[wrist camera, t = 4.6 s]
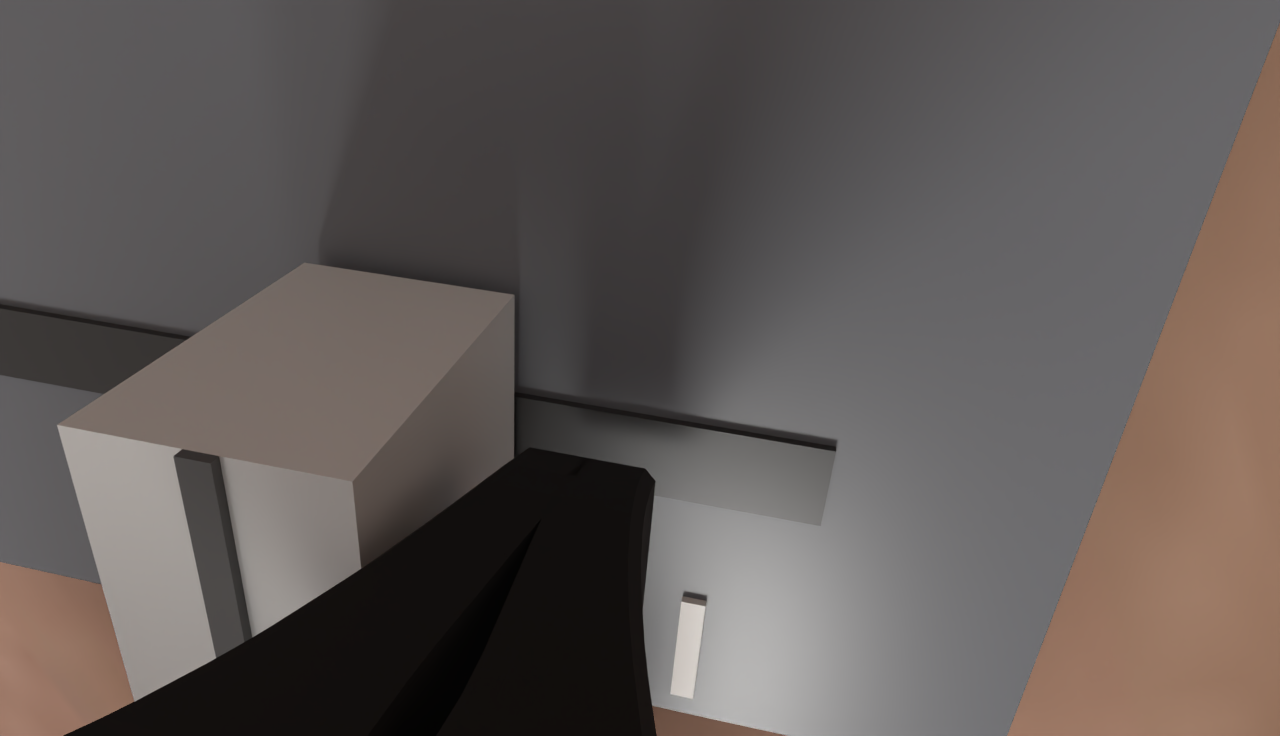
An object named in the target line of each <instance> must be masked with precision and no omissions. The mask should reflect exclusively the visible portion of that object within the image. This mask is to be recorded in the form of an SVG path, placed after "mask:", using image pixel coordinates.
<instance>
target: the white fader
mask: <svg viewBox="0 0 1280 736" xmlns="http://www.w3.org/2000/svg"><path fill="white" fill-rule="evenodd" d="M514 314H515V295H513V294H506V293H500V292H493V291H487V290H480V289H474V288H467V287H461V286H454V285H448V284H441V283H434V282H428V281H421V280H415V279H408V278H402V277H395V276H389V275H382V274H376V273H369V272H363V271H356V270H350V269H343V268H337V267H330V266H323V265H317V264H310V263H303V264H302V265H300V266H299V267H297V268H296V269H294V270H293V271H291V272H289V273H288V274H286V275H285V276H283V277H282V278H280V279H279V280H277V281H276V282H274V283H273V284H271V285H270V286H268V287H267V288H265V289H264V290H262V291H260V292H259V293H257V294H256V295H254V296H253V297H251V298H250V299H248V300H247V301H245V302H244V303H242V304H241V305H239V306H238V307H236V308H235V309H233V310H232V311H230V312H228V313H227V314H225V315H224V316H222V317H221V318H219V319H218V320H216V321H215V322H213V323H212V324H210V325H209V326H207V327H206V328H204V329H203V330H201V331H199V332H198V333H196V334H195V335H193V336H192V337H190V338H189V339H187V340H186V341H184V342H183V343H181V344H180V345H178V346H177V347H175V348H174V349H172V350H171V351H169V352H167V353H166V354H164V355H163V356H161V357H160V358H158V359H157V360H155V361H154V362H152V363H151V364H149V365H148V366H146V367H145V368H143V369H142V370H140V371H138V372H137V373H135V374H134V375H132V376H131V377H129V378H128V379H126V380H125V381H123V382H122V383H120V384H119V385H117V386H116V387H114V388H113V389H111V390H109V391H108V392H106V393H105V394H103V395H102V396H100V397H99V398H97V399H96V400H94V401H93V402H91V403H90V404H88V405H87V406H85V407H84V408H82V409H81V410H79V411H77V412H76V413H74V414H73V415H71V416H70V417H68V418H67V419H65V420H64V421H62V422H61V423H59V424H58V425H57V427H58V431H59V434H60V438H61V441H62V445H63V448H64V452H65V456H66V459H67V463H68V466H69V470H70V473H71V477H72V481H73V484H74V488H75V491H76V495H77V498H78V502H79V505H80V509H81V513H82V516H83V520H84V523H85V527H86V530H87V534H88V538H89V541H90V545H91V548H92V552H93V555H94V559H95V563H96V566H97V570H98V573H99V577H100V580H101V584H102V588H103V591H104V595H105V598H106V602H107V605H108V609H109V612H110V616H111V620H112V623H113V627H114V630H115V634H116V637H117V641H118V645H119V648H120V652H121V655H122V659H123V662H124V666H125V670H126V673H127V677H128V680H129V684H130V687H131V691H132V694H133V698H134V702H135V701H137V700H139V699H140V698H142V697H144V696H146V695H148V694H150V693H152V692H154V691H156V690H157V689H159V688H161V687H163V686H165V685H167V684H169V683H171V682H173V681H174V680H176V679H178V678H180V677H182V676H184V675H186V674H188V673H190V672H191V671H193V670H195V669H197V668H199V667H201V666H203V665H205V664H207V663H208V662H210V661H212V660H214V659H215V658H217V657H219V656H221V655H223V654H224V653H226V652H228V651H230V650H231V649H233V648H235V647H237V646H238V645H240V644H242V643H244V642H245V641H247V640H249V639H251V638H252V637H254V636H256V635H257V634H259V633H261V632H262V631H264V630H266V629H267V628H269V627H271V626H272V625H274V624H275V623H277V622H279V621H280V620H282V619H283V618H285V617H286V616H288V615H290V614H291V613H293V612H294V611H296V610H297V609H299V608H301V607H302V606H304V605H305V604H307V603H308V602H310V601H312V600H313V599H315V598H316V597H318V596H319V595H321V594H323V593H324V592H326V591H327V590H329V589H330V588H332V587H334V586H335V585H337V584H338V583H340V582H341V581H343V580H345V579H346V578H348V577H349V576H351V575H352V574H354V573H355V572H357V571H358V570H360V569H361V568H363V567H364V566H366V565H367V564H369V563H370V562H371V561H373V560H374V559H376V558H377V557H378V556H380V555H381V554H383V553H384V552H386V551H387V550H388V549H390V548H391V547H393V546H394V545H396V544H397V543H398V542H400V541H401V540H403V539H404V538H405V537H407V536H408V535H410V534H411V533H413V532H414V531H415V530H417V529H418V528H420V527H421V526H423V525H424V524H425V523H427V522H428V521H430V520H431V519H432V518H434V517H435V516H436V515H438V514H439V513H440V512H442V511H443V510H444V509H446V508H447V507H449V506H450V505H451V504H453V503H454V502H455V501H457V500H458V499H459V498H461V497H462V496H463V495H465V494H466V493H467V492H469V491H470V490H471V489H473V488H474V487H475V486H477V485H478V484H479V483H481V482H482V481H483V480H485V479H486V478H487V477H489V476H490V475H492V474H493V473H494V472H496V471H497V470H498V469H500V468H501V467H502V466H504V465H505V464H506V463H508V462H509V461H511V460H512V459H513V458H514Z"/></svg>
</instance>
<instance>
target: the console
mask: <svg viewBox="0 0 1280 736" xmlns="http://www.w3.org/2000/svg"><path fill="white" fill-rule="evenodd" d="M1279 23H1280V0H0V562H3V563H8V564H12V565H17V566H21V567H26V568H31V569H35V570H40V571H44V572H49V573H53V574H58V575H62V576H67V577H71V578H76V579H80V580H85V581H89V582H94V583H98V584H101V580H100V577H99V573H98V570H97V566H96V563H95V559H94V555H93V552H92V548H91V545H90V541H89V538H88V534H87V530H86V527H85V523H84V520H83V516H82V513H81V509H80V505H79V502H78V498H77V495H76V491H75V488H74V484H73V481H72V477H71V473H70V470H69V466H68V463H67V459H66V456H65V452H64V448H63V445H62V441H61V438H60V434H59V431H58V427H57V425H58V424H59V423H61V422H62V421H64V420H65V419H67V418H68V417H70V416H71V415H73V414H74V413H76V412H77V411H79V410H81V409H82V408H84V407H85V406H87V405H88V404H90V403H91V402H93V401H94V400H96V399H97V398H99V397H100V396H102V395H103V394H105V393H106V392H108V391H109V390H111V389H113V388H114V387H116V386H117V385H119V384H120V383H122V382H123V381H125V380H126V379H128V378H129V377H131V376H132V375H134V374H135V373H137V372H138V371H140V370H142V369H143V368H145V367H146V366H148V365H149V364H151V363H152V362H154V361H155V360H157V359H158V358H160V357H161V356H163V355H164V354H166V353H167V352H169V351H171V350H172V349H174V348H175V347H177V346H178V345H180V344H181V343H183V342H184V341H186V340H187V339H189V338H190V337H192V336H193V335H195V334H196V333H198V332H199V331H201V330H203V329H204V328H206V327H207V326H209V325H210V324H212V323H213V322H215V321H216V320H218V319H219V318H221V317H222V316H224V315H225V314H227V313H228V312H230V311H232V310H233V309H235V308H236V307H238V306H239V305H241V304H242V303H244V302H245V301H247V300H248V299H250V298H251V297H253V296H254V295H256V294H257V293H259V292H260V291H262V290H264V289H265V288H267V287H268V286H270V285H271V284H273V283H274V282H276V281H277V280H279V279H280V278H282V277H283V276H285V275H286V274H288V273H289V272H291V271H293V270H294V269H296V268H297V267H299V266H300V265H302V264H303V263H310V264H317V265H323V266H330V267H337V268H343V269H350V270H356V271H363V272H369V273H376V274H382V275H389V276H395V277H402V278H408V279H415V280H421V281H428V282H434V283H441V284H448V285H454V286H461V287H467V288H474V289H480V290H487V291H493V292H500V293H506V294H513V295H515V314H514V458H515V457H516V456H518V455H519V454H521V453H522V452H523V451H525V450H526V449H528V448H529V447H531V448H537V449H542V450H548V451H553V452H558V453H564V454H569V455H575V456H580V457H586V458H591V459H597V460H602V461H607V462H613V463H618V464H624V465H629V466H635V467H640V468H645V469H646V470H647V471H648V472H649V474H650V475H651V476H652V477H653V478H654V480H655V481H656V483H655V493H654V503H653V513H652V523H651V533H650V543H649V553H648V563H647V573H646V583H645V593H644V603H643V625H644V642H645V652H646V661H647V671H648V679H649V686H650V694H651V701H652V706H656V707H660V708H665V709H669V710H674V711H678V712H683V713H687V714H692V715H696V716H701V717H705V718H710V719H714V720H719V721H723V722H728V723H733V724H737V725H742V726H746V727H751V728H755V729H760V730H764V731H769V732H773V733H778V734H782V735H787V736H1007V734H1008V732H1009V729H1010V726H1011V724H1012V721H1013V719H1014V716H1015V713H1016V711H1017V708H1018V705H1019V703H1020V700H1021V698H1022V695H1023V692H1024V690H1025V687H1026V685H1027V682H1028V679H1029V677H1030V674H1031V672H1032V669H1033V666H1034V664H1035V661H1036V658H1037V656H1038V653H1039V651H1040V648H1041V645H1042V643H1043V640H1044V638H1045V635H1046V632H1047V630H1048V627H1049V624H1050V622H1051V619H1052V617H1053V614H1054V611H1055V609H1056V606H1057V604H1058V601H1059V598H1060V596H1061V593H1062V590H1063V588H1064V585H1065V583H1066V580H1067V577H1068V575H1069V572H1070V570H1071V567H1072V564H1073V562H1074V559H1075V556H1076V554H1077V551H1078V549H1079V546H1080V543H1081V541H1082V538H1083V536H1084V533H1085V530H1086V528H1087V525H1088V522H1089V520H1090V517H1091V515H1092V512H1093V509H1094V507H1095V504H1096V502H1097V499H1098V496H1099V494H1100V491H1101V488H1102V486H1103V483H1104V481H1105V478H1106V475H1107V473H1108V470H1109V468H1110V465H1111V462H1112V460H1113V457H1114V454H1115V452H1116V449H1117V447H1118V444H1119V441H1120V439H1121V436H1122V434H1123V431H1124V428H1125V426H1126V423H1127V420H1128V418H1129V415H1130V413H1131V410H1132V407H1133V405H1134V402H1135V400H1136V397H1137V394H1138V392H1139V389H1140V387H1141V384H1142V381H1143V379H1144V376H1145V373H1146V371H1147V368H1148V366H1149V363H1150V360H1151V358H1152V355H1153V353H1154V350H1155V347H1156V345H1157V342H1158V339H1159V337H1160V334H1161V332H1162V329H1163V326H1164V324H1165V321H1166V319H1167V316H1168V313H1169V311H1170V308H1171V305H1172V303H1173V300H1174V298H1175V295H1176V292H1177V290H1178V287H1179V285H1180V282H1181V279H1182V277H1183V274H1184V271H1185V269H1186V266H1187V264H1188V261H1189V258H1190V256H1191V253H1192V251H1193V248H1194V245H1195V243H1196V240H1197V237H1198V235H1199V232H1200V230H1201V227H1202V224H1203V222H1204V219H1205V217H1206V214H1207V211H1208V209H1209V206H1210V203H1211V201H1212V198H1213V196H1214V193H1215V190H1216V188H1217V185H1218V183H1219V180H1220V177H1221V175H1222V172H1223V169H1224V167H1225V164H1226V162H1227V159H1228V156H1229V154H1230V151H1231V149H1232V146H1233V143H1234V141H1235V138H1236V135H1237V133H1238V130H1239V128H1240V125H1241V122H1242V120H1243V117H1244V115H1245V112H1246V109H1247V107H1248V104H1249V102H1250V99H1251V96H1252V94H1253V91H1254V88H1255V86H1256V83H1257V81H1258V78H1259V75H1260V73H1261V70H1262V68H1263V65H1264V62H1265V60H1266V57H1267V54H1268V52H1269V49H1270V47H1271V44H1272V41H1273V39H1274V36H1275V34H1276V31H1277V28H1278V26H1279Z"/></svg>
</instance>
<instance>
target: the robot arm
mask: <svg viewBox="0 0 1280 736" xmlns="http://www.w3.org/2000/svg"><path fill="white" fill-rule="evenodd" d="M655 483H656V481H655V480H654V478H653V477H652V476H651V475H650V474H649V472H648V471H647V470H646V469H645V468H640V467H635V466H629V465H624V464H618V463H613V462H607V461H602V460H597V459H591V458H586V457H580V456H575V455H569V454H564V453H558V452H553V451H548V450H542V449H537V448H531V447H529V448H528V449H526V450H525V451H523V452H522V453H521V454H519V455H518V456H516V457H515V458H513V459H512V460H511V461H509V462H508V463H506V464H505V465H504V466H502V467H501V468H500V469H498V470H497V471H496V472H494V473H493V474H492V475H490V476H489V477H487V478H486V479H485V480H483V481H482V482H481V483H479V484H478V485H477V486H475V487H474V488H473V489H471V490H470V491H469V492H467V493H466V494H465V495H463V496H462V497H461V498H459V499H458V500H457V501H455V502H454V503H453V504H451V505H450V506H449V507H447V508H446V509H444V510H443V511H442V512H440V513H439V514H438V515H436V516H435V517H434V518H432V519H431V520H430V521H428V522H427V523H425V524H424V525H423V526H421V527H420V528H418V529H417V530H415V531H414V532H413V533H411V534H410V535H408V536H407V537H405V538H404V539H403V540H401V541H400V542H398V543H397V544H396V545H394V546H393V547H391V548H390V549H388V550H387V551H386V552H384V553H383V554H381V555H380V556H378V557H377V558H376V559H374V560H373V561H371V562H370V563H369V564H367V565H366V566H364V567H363V568H361V569H360V570H358V571H357V572H355V573H354V574H352V575H351V576H349V577H348V578H346V579H345V580H343V581H341V582H340V583H338V584H337V585H335V586H334V587H332V588H330V589H329V590H327V591H326V592H324V593H323V594H321V595H319V596H318V597H316V598H315V599H313V600H312V601H310V602H308V603H307V604H305V605H304V606H302V607H301V608H299V609H297V610H296V611H294V612H293V613H291V614H290V615H288V616H286V617H285V618H283V619H282V620H280V621H279V622H277V623H275V624H274V625H272V626H271V627H269V628H267V629H266V630H264V631H262V632H261V633H259V634H257V635H256V636H254V637H252V638H251V639H249V640H247V641H245V642H244V643H242V644H240V645H238V646H237V647H235V648H233V649H231V650H230V651H228V652H226V653H224V654H223V655H221V656H219V657H217V658H215V659H214V660H212V661H210V662H208V663H207V664H205V665H203V666H201V667H199V668H197V669H195V670H193V671H191V672H190V673H188V674H186V675H184V676H182V677H180V678H178V679H176V680H174V681H173V682H171V683H169V684H167V685H165V686H163V687H161V688H159V689H157V690H156V691H154V692H152V693H150V694H148V695H146V696H144V697H142V698H140V699H139V700H137V701H135V702H133V703H131V704H129V705H127V706H125V707H123V708H121V709H119V710H117V711H115V712H113V713H111V714H109V715H107V716H105V717H103V718H101V719H99V720H96V721H94V722H92V723H90V724H88V725H86V726H83V727H81V728H79V729H77V730H75V731H73V732H70V733H68V734H66V735H64V736H657V735H656V729H655V723H654V716H653V708H652V701H651V694H650V686H649V679H648V671H647V661H646V652H645V642H644V625H643V603H644V593H645V583H646V573H647V563H648V553H649V543H650V533H651V523H652V513H653V503H654V493H655Z"/></svg>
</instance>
